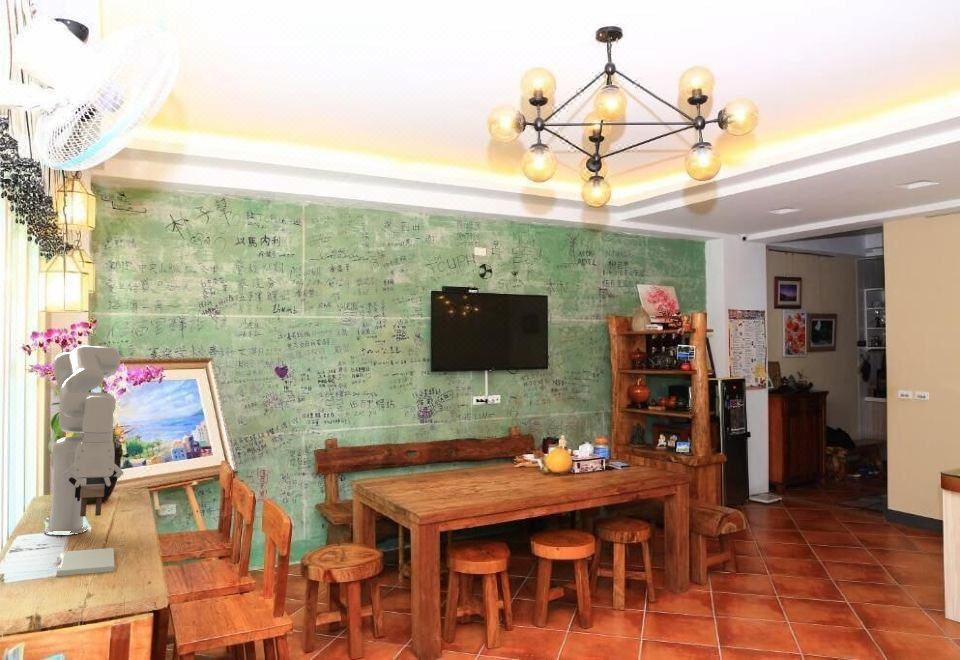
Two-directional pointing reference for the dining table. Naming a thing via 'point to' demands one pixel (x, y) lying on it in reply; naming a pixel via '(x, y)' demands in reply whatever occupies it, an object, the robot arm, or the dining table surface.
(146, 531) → the dining table surface
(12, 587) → the dining table surface
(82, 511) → the stool
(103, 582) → the dining table surface
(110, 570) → the board
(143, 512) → the dining table surface
